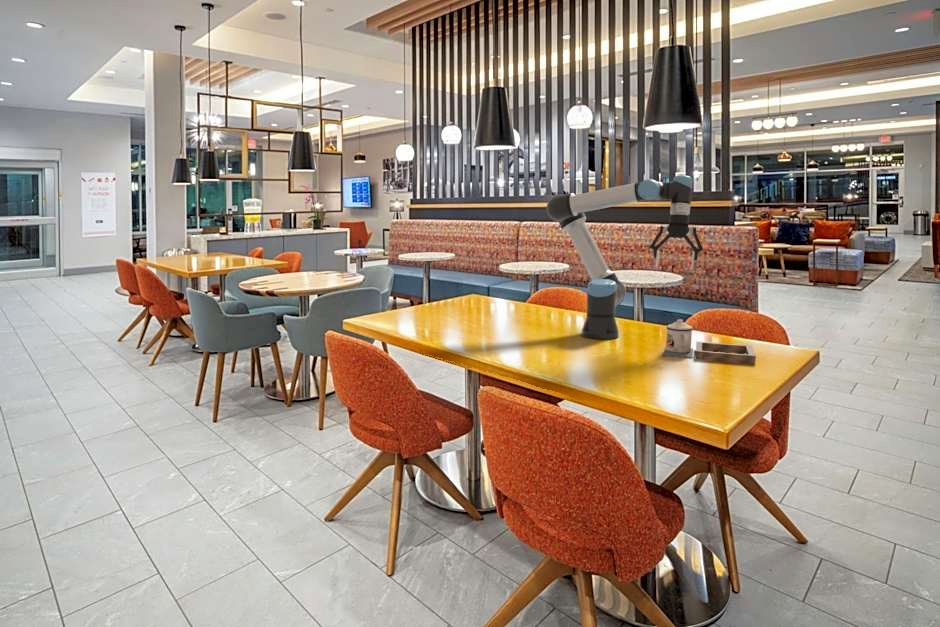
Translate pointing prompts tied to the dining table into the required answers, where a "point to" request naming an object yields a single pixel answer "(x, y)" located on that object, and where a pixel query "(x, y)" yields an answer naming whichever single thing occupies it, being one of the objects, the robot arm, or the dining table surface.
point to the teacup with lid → (679, 337)
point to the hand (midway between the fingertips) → (674, 267)
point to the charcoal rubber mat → (678, 354)
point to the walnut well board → (706, 347)
